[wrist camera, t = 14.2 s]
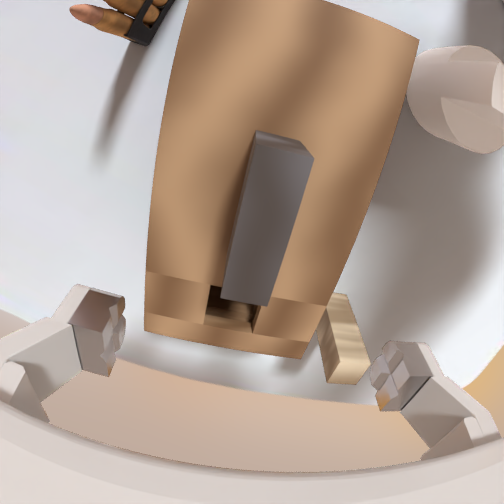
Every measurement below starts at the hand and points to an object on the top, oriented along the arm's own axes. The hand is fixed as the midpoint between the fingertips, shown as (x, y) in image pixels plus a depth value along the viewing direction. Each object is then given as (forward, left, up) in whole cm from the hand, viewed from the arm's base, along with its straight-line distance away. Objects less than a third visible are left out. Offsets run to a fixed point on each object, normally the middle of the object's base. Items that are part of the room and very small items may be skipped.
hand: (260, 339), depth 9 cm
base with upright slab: (-15, -12, -20) cm, 28 cm away
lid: (0, 0, -12) cm, 12 cm away
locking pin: (-11, +13, -20) cm, 26 cm away
